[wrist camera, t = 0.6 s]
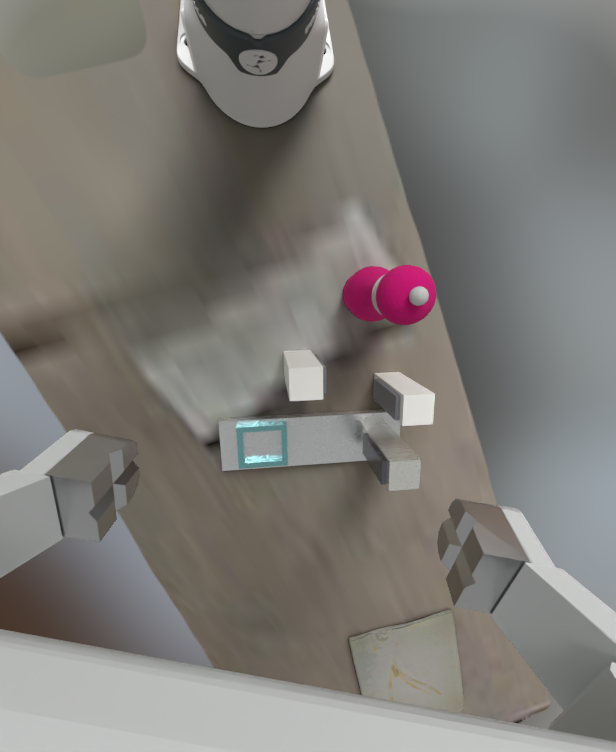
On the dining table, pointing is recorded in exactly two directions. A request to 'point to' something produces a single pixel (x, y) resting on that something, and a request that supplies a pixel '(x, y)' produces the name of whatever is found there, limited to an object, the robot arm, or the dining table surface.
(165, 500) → the dining table surface
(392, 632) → the decorative slab
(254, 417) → the rail
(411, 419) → the block
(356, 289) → the pepper mill
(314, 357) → the tall white upright block
